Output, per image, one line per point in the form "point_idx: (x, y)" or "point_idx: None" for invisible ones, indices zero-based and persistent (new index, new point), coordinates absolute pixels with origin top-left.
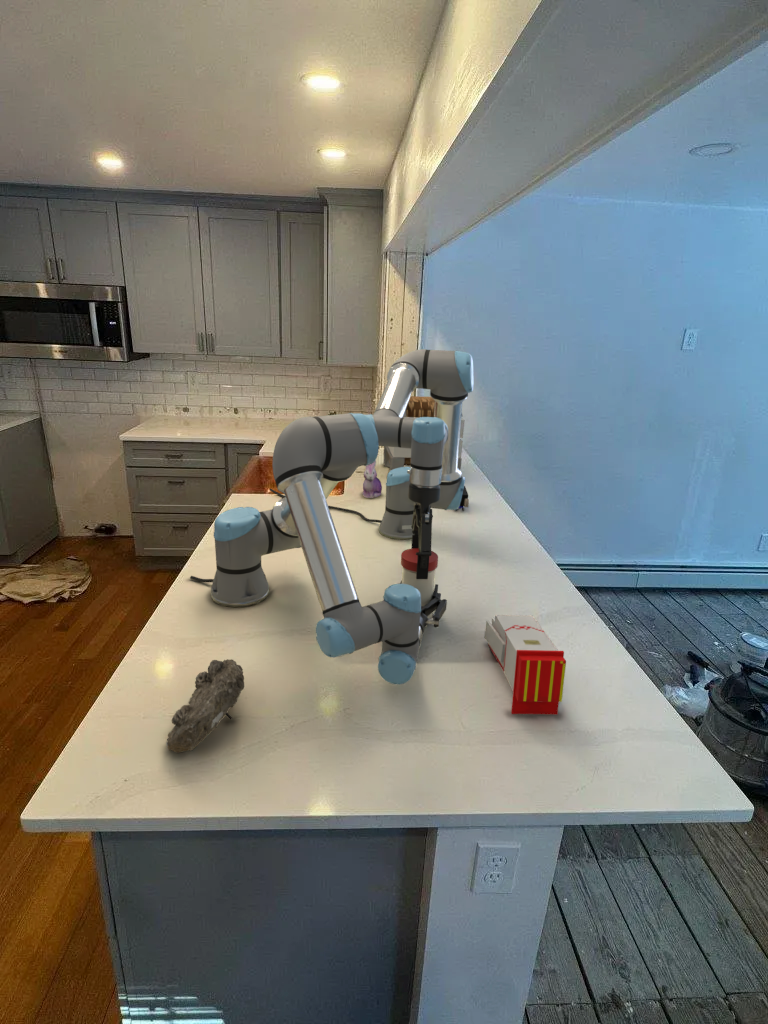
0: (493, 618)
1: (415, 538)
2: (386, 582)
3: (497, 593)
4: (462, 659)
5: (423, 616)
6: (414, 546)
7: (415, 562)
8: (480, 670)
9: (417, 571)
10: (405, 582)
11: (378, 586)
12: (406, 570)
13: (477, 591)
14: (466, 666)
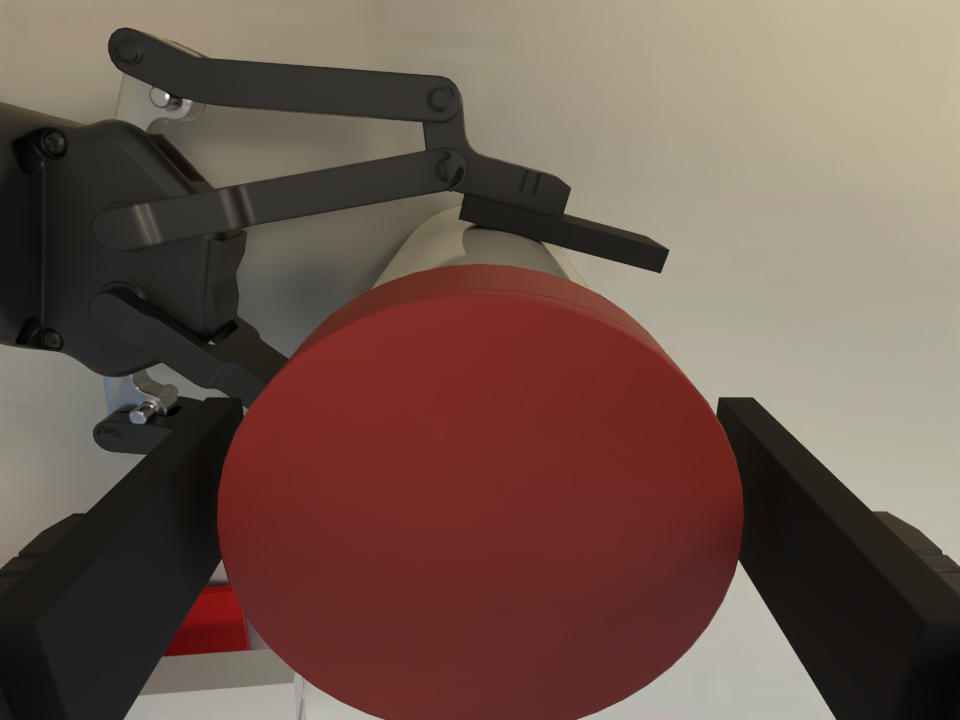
0: (279, 687)
1: (872, 630)
2: (953, 154)
3: (701, 703)
4: (109, 463)
5: (107, 352)
6: (794, 521)
7: (235, 471)
8: (42, 517)
9: (159, 447)
10: (392, 276)
11: (907, 89)
12: None
13: (734, 632)
14: (57, 469)
